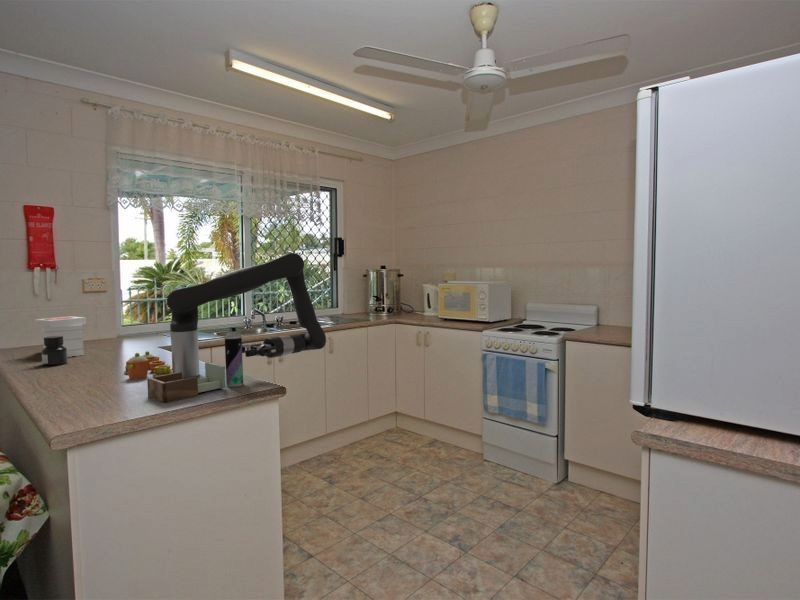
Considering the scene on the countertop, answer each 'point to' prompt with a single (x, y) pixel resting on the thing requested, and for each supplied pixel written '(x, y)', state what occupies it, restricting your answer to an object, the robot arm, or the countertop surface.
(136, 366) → the toy tea set
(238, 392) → the countertop surface
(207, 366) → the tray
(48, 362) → the ink bottle
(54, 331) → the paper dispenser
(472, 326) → the countertop surface
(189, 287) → the robot arm
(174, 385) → the frame
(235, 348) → the spray can
